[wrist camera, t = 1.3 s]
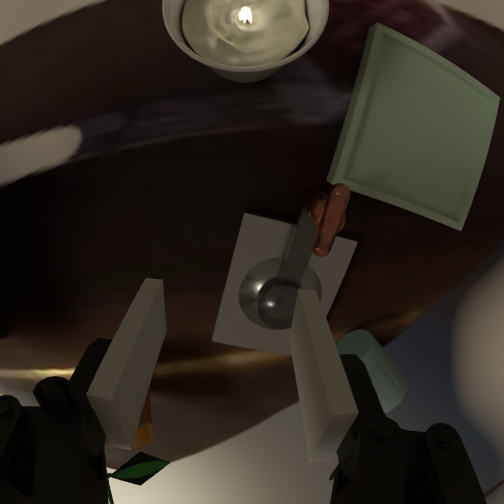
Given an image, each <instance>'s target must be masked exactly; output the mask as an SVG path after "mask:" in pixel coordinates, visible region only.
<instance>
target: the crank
mask: <svg viewBox="0 0 504 504" xmlns="http://www.w3.org/2000/svg"><path fill="white" fill-rule="evenodd" d="M349 198H350V189H349V188H348V186H347V185H345V184H343V183H336V184H334V185H333V186H332V187H331V189H330V191H329V194H328V195H327V194H326V193H325V192H324V191H322V190H321V189H320V188H317V187H312V188H309V189H307V190H306V191H305V192H304V193H303V195H302V199H301V200H302V201H301V205H300V208H299V211H298V214H297V217H296V220H295V223H294V227H293V230H292V233H291V236H290V239H289V242H288V245H287V248H286V251H285V254H284V257H283V260H282V263H281V266H280V269H279V272H278V275H277V277H275V278H272V279H270V280H268V281H266V282H265V283H264V284H263V285H262V286H261V287H260V289H259V292H258V296H257V300H258V313H259V317H260V319H261V320H262V321H263V323H265V324H266V325H267V326H269V327H272V328H275V329H287V328H291V326H292V321H293V315H294V310H295V304H296V299H297V293H298V289H303V288H302V286H301V285H300V284H301V281H302V279H303V276H304V273H305V271H306V268H307V265H308V262H309V260H310V257H311V254H312V251H313V253H314V254H315V255H317V256H319V257H324V256H326V255H328V254H329V253H330V251H331V249H332V246H333V243H334V241H335V238H336V235H337V233H338V232H340V231H341V230H342V229H343V227H344V225H345V221H346V218H345V214H344V213H345V210H346V207H347V204H348V201H349Z"/></svg>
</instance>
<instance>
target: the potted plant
mask: <svg viewBox="0 0 504 504" xmlns="http://www.w3.org/2000/svg"><path fill="white" fill-rule="evenodd" d="M152 443H153V434H152V421H151V404H150V385H149V389H148V392H147V395H146V399H145V402H144V406H143V409H142V413H141V416H140V420H139V423H138V427H137V430H136V434H135V438H134V441H133V445H132V449H133V450H135V449H138V448H141V447H143V446H146V445H149V444H152ZM105 444H106V445H109V443H108V441H107V439H106V437H105V440H104V443H103V449H105ZM169 463H171V462H168V461H165V460H162V459H159V458H156V457H154V456H151V455H148V454H145V453H143V452H139V453H138V454H136V455H135V456H134V457H133V458H131V459H130V460H129V461H128V462H126V463H125V464H124V465H123V466H121V467H120V468H119V469H117V470H116V471H115V472H114V473H112V474H111V473H108V474H107V469H106V478H107V491H108V499H109V502H110V504H114V502H113V498H112V494H111V490H110V485H109V480H108V479H109V478H110V477H112V478H115V479H119V480H122V481H126V482H129V483H133V484H137V485H142V484H143V483H144V482H146V481H147V480H148V479H150V478H151V477H153V476H154V475H155V474H156V473H158V472H159V471H160V470H162V469H163V468H164V467H165V466H167V465H168V464H169Z"/></svg>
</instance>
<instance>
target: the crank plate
mask: <svg viewBox="0 0 504 504" xmlns="http://www.w3.org/2000/svg"><path fill="white" fill-rule="evenodd" d="M294 223H295V222H294V221H290V220H286V219H282V218H278V217H274V216H270V215H266V214H262V213H258V212H254V211H250V210H246V209H244V213H243V217H242V221H241V224H240V228H239V232H238V236H237V240H236V244H235V247H234V251H233V255H232V259H231V263H230V267H229V271H228V275H227V279H226V282H225V286H224V290H223V294H222V298H221V302H220V306H219V310H218V314H217V318H216V322H215V326H214V330H213V335H212V341H215V342H219V343H224V344H229V345H234V346H240V347H245V348H250V349H256V350H262V351H268V352H274V353H280V354H286V355H292V353H291V347H290V342H289V336H290V331H291V328H287V329H275V328H272V327H269V326H267V325H266V324H265V323H263V321H262V320H261V319H260V317H259V313H258V300H257V296H258V292H259V289H260V287H261V286H262V285H263V284H264V283H265V282H266V281H268V280H270V279H272V278H275V277H277V275H278V272H279V269H280V266H281V263H282V260H283V257H284V254H285V251H286V248H287V245H288V242H289V239H290V236H291V233H292V230H293V227H294ZM357 243H358V242H357V240H356V239H355V238H353V237H350V236H346V235H342V234H339V233H337V235H336V238H335V241H334V243H333V246H332V249H331V251H330V253H329V254H328V255H326V256H324V257H319V256H317V255H315V254H314V253H313V251H312V254H311V257H310V260H309V262H308V265H307V268H306V271H305V273H304V276H303V279H302V281H301V284H300V285H301V286H302V288H303V289H311V290H316V292H317V295H318V298H319V300H320V303H321V306H322V308H323V311H324V314H325V317H326V316H327V314H328V312H329V310H330V307H331V305H332V303H333V301H334V298H335V296H336V294H337V291H338V289H339V287H340V284H341V282H342V280H343V277H344V275H345V272H346V270H347V268H348V265H349V263H350V260H351V258H352V255H353V253H354V250H355V248H356V245H357Z"/></svg>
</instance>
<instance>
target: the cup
mask: <svg viewBox="0 0 504 504" xmlns="http://www.w3.org/2000/svg"><path fill="white" fill-rule="evenodd" d="M335 345H336V347H337V350H338V353H339V354H356V355H357V356H358V357H359V358H360V359H361V360H362V361H363V362H364V364H365V366H366V368H367V371H368V373H369V376H370V378H371V380H372V384H373V385H374V388H375V390H376V393H377V395H378V398H379V400H380V403H381V405H382V408H383V411H384V413H386V412H388V411H390V410H392V409H393V408H395V407H396V406H397V405H398V404H399V403H400V402H401V400H402V399H403V398H404V396H405V394H406V391H407V385H408V384H407V379H406V377H405V375H404V374H403V372H402V371H401V370H400V369H399V368H398V367H397V365H396V364H395V363H394V361H393V360H392V359H391V358H390V356H389V355H388V354H387V353H386V351H385V350H384V349H383V348H382V346H381V345H380V344H379V343H378V341H377V340H376V339H375V338H374V336H373V335H372V334H371V333H370V332H369V331H366V330H355V331H352V332H350V333H348V334H346V335H345V336H343V337H342V338H341V339H340V340H339V341H338V342H337V343H336V344H335Z"/></svg>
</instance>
